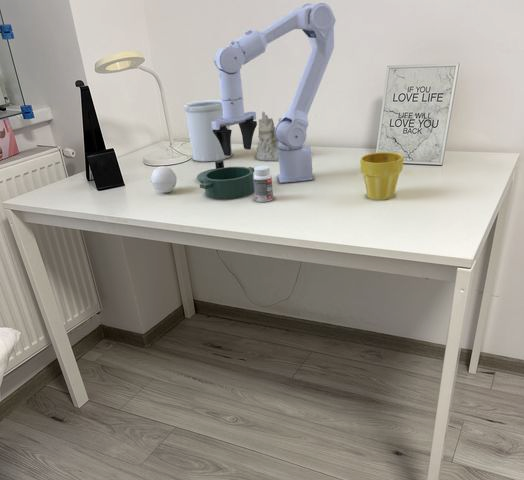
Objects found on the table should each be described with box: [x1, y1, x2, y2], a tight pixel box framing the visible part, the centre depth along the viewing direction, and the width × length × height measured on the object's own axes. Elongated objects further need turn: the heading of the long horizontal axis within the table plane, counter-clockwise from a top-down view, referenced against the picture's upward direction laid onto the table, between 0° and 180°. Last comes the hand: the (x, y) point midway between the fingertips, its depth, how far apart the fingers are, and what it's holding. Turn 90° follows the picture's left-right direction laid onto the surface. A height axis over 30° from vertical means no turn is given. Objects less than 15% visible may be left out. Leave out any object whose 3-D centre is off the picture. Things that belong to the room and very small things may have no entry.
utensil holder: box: [183, 99, 233, 162], centre depth 185 cm, size 15×15×18 cm
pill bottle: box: [253, 165, 274, 203], centre depth 142 cm, size 5×5×8 cm
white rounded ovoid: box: [150, 165, 178, 194], centre depth 154 cm, size 10×7×7 cm
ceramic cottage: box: [255, 111, 283, 162], centre depth 180 cm, size 16×16×15 cm
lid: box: [196, 159, 225, 183], centre depth 165 cm, size 15×15×5 cm
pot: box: [199, 166, 255, 201], centre depth 151 cm, size 14×19×5 cm
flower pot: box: [359, 151, 404, 201], centre depth 136 cm, size 10×10×10 cm
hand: (237, 152), depth 150 cm, fingers open, 7 cm apart
